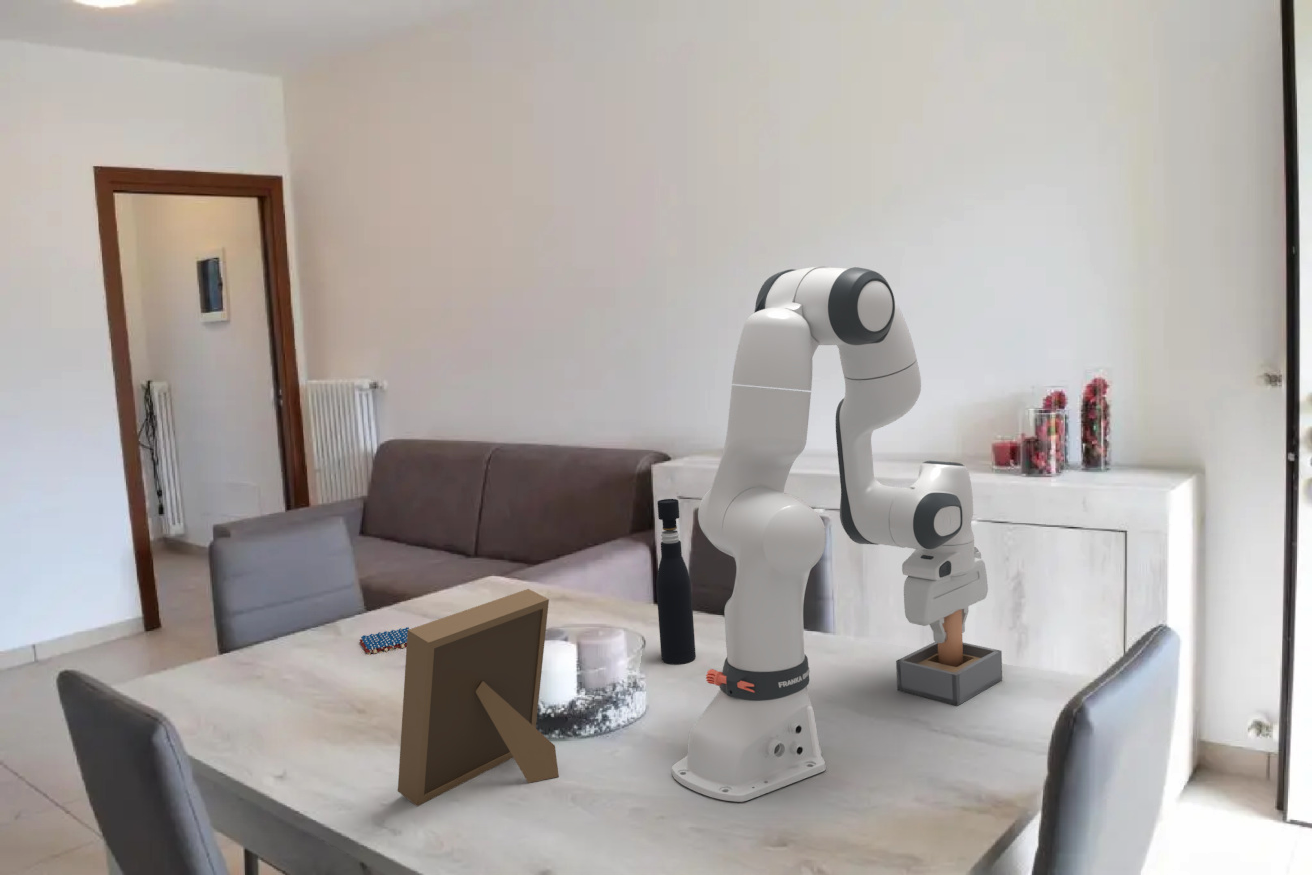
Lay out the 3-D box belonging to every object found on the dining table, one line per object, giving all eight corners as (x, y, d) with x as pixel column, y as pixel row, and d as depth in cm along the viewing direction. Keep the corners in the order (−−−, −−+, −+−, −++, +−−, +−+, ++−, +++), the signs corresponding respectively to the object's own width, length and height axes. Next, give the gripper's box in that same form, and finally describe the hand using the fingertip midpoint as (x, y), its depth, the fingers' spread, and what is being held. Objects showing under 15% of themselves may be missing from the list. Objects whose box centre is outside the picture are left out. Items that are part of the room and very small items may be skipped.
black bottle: (682, 666, 183) (671, 505, 179) (654, 661, 187) (643, 502, 183) (702, 655, 188) (692, 498, 184) (674, 650, 192) (664, 496, 188)
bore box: (957, 705, 157) (956, 675, 156) (897, 689, 165) (896, 660, 164) (1002, 679, 166) (1001, 650, 166) (943, 665, 174) (942, 638, 174)
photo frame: (398, 797, 139) (382, 623, 136) (514, 740, 155) (502, 583, 152) (468, 828, 129) (452, 641, 126) (584, 764, 146) (573, 597, 143)
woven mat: (358, 644, 211) (357, 635, 211) (409, 634, 215) (408, 625, 215) (366, 658, 202) (365, 648, 201) (419, 647, 206) (418, 638, 206)
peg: (955, 672, 165) (953, 614, 164) (933, 667, 168) (931, 610, 167) (968, 666, 168) (966, 608, 167) (946, 661, 171) (944, 604, 170)
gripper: (962, 541, 175) (965, 618, 177) (895, 567, 162) (898, 649, 163) (996, 546, 171) (998, 625, 172) (929, 572, 157) (932, 657, 159)
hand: (949, 637), depth 168 cm, fingers closed on peg, 4 cm apart
